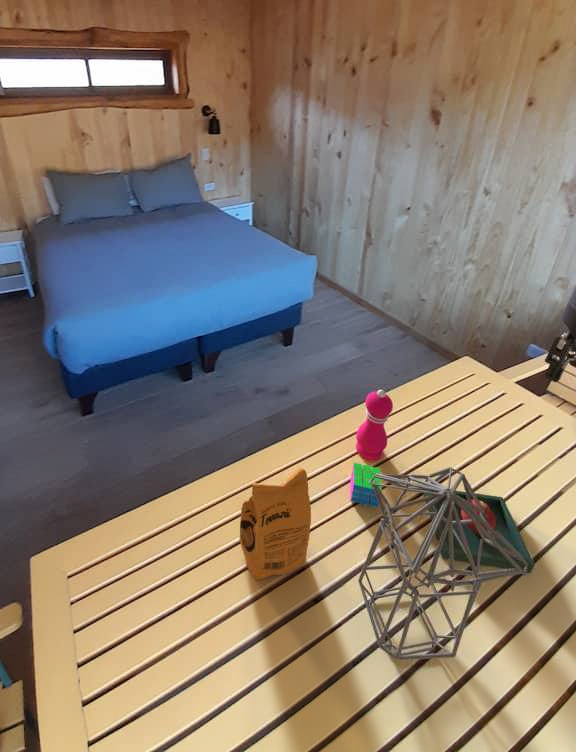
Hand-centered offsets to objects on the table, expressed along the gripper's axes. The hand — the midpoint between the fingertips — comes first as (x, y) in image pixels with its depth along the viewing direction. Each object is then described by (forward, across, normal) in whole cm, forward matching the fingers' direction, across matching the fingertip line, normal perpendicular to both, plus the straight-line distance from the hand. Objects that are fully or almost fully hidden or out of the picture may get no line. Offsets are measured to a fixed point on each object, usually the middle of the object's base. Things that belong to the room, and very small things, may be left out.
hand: (563, 372), depth 82 cm
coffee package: (+30, -63, +10) cm, 70 cm away
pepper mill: (+30, -28, +20) cm, 45 cm away
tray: (+30, -23, -4) cm, 38 cm away
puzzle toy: (+30, -37, +12) cm, 49 cm away
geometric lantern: (+30, -49, -10) cm, 58 cm away
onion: (+29, -23, -4) cm, 37 cm away
